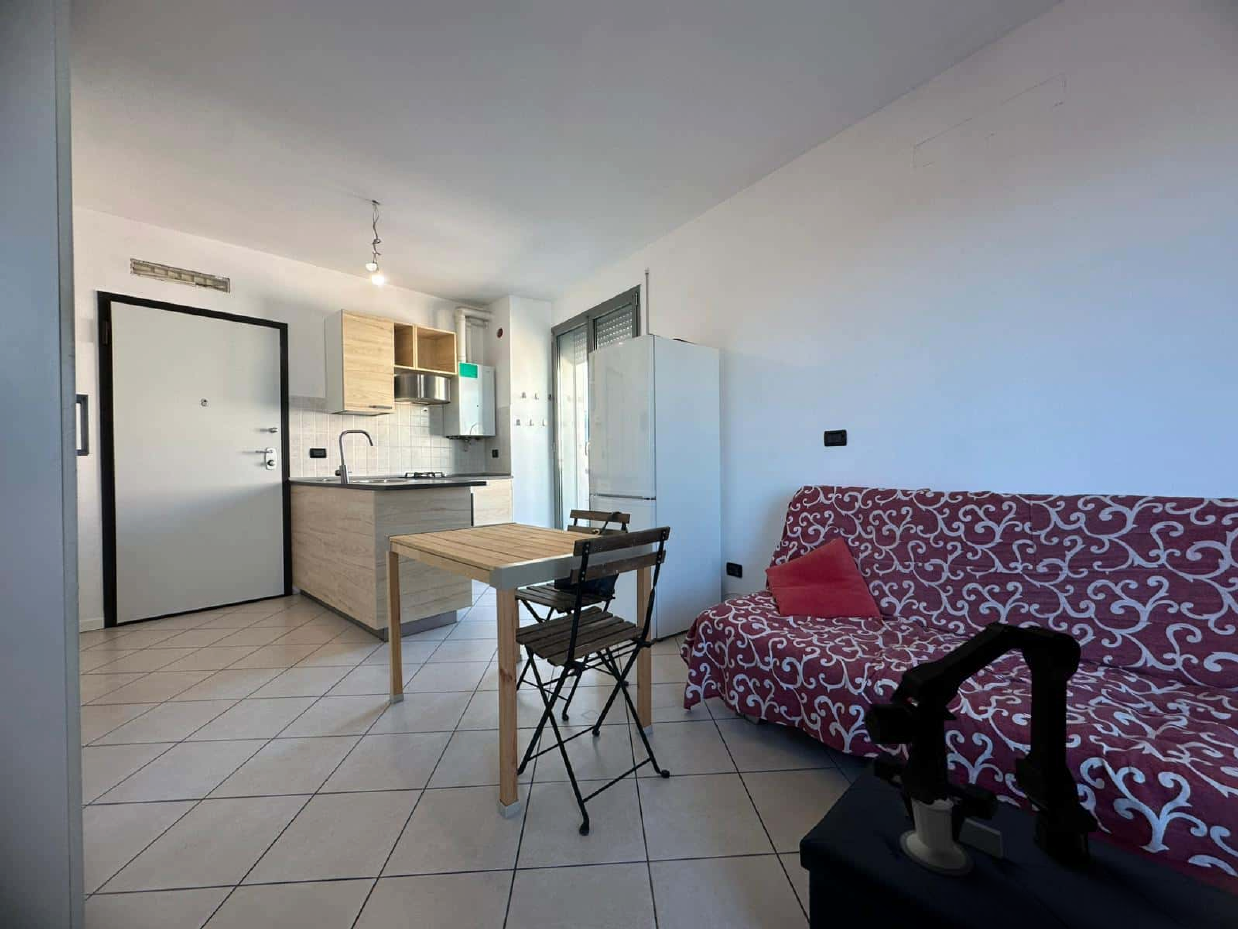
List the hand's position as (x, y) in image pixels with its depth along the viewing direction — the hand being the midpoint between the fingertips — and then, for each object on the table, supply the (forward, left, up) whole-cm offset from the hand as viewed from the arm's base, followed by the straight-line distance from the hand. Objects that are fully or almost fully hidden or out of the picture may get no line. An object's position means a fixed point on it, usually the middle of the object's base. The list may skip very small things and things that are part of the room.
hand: (934, 832), depth 86 cm
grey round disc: (0, 0, -4) cm, 4 cm away
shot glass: (0, 0, -2) cm, 2 cm away
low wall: (-5, -5, -4) cm, 8 cm away
